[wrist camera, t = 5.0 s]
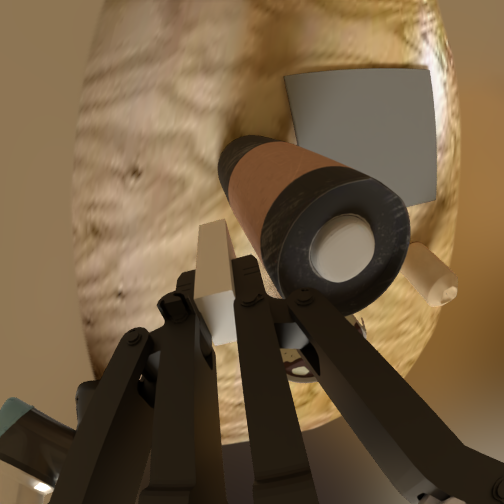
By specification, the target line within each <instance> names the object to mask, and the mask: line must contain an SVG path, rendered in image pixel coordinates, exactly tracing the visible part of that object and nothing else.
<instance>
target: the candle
mask: <svg viewBox="0 0 504 504" xmlns="http://www.w3.org/2000/svg"><path fill="white" fill-rule="evenodd" d="M400 272H401V273H402V274H403V275H404V276H405V277H406V279H407V280H408V281H409V282H410V283H411V284H412V285H413V287H414V288H415V289H416V290H417V291H418V292H419V294H420V295H421V296H422V297H423V298H424V300H425V301H426V302H427V303H428V304H429V305H430V306H431V307H438V306H442V305H443V304H446V303H448V302H450V301H451V300H452V299H454V298H455V297H456V295H457V285H458V278H457V276H456V274H455V273H454V272H453V271H452V270H451V269H450V268H449V267H448V266H447V265H446V264H444V263H443V262H442V261H441V260H440V259H439V258H438V257H437V256H436V255H435V254H434V253H432V252H431V251H430V250H429V249H428V248H427V247H426V246H425V245H423V244H422V243H419V242H414V243H411V244H409V248H408V252H407V255H406V258H405V261H404V263H403V265H402V268H401V269H400Z"/></svg>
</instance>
